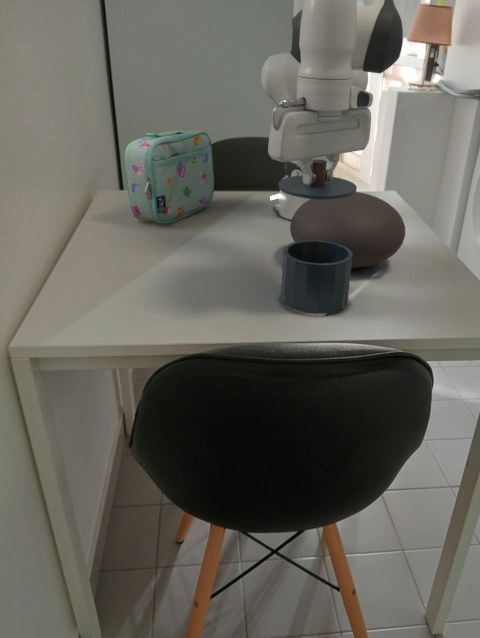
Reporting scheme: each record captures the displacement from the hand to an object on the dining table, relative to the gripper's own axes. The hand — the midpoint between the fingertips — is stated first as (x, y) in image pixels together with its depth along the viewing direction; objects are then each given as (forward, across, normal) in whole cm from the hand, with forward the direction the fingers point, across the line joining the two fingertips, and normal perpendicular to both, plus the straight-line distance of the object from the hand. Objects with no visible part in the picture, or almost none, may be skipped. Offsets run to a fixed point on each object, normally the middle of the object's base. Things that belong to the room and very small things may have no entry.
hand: (317, 181), depth 106 cm
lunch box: (+23, +5, +60) cm, 64 cm away
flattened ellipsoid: (+23, +20, +10) cm, 32 cm away
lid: (+1, 0, 0) cm, 1 cm away
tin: (+23, 0, -1) cm, 23 cm away
